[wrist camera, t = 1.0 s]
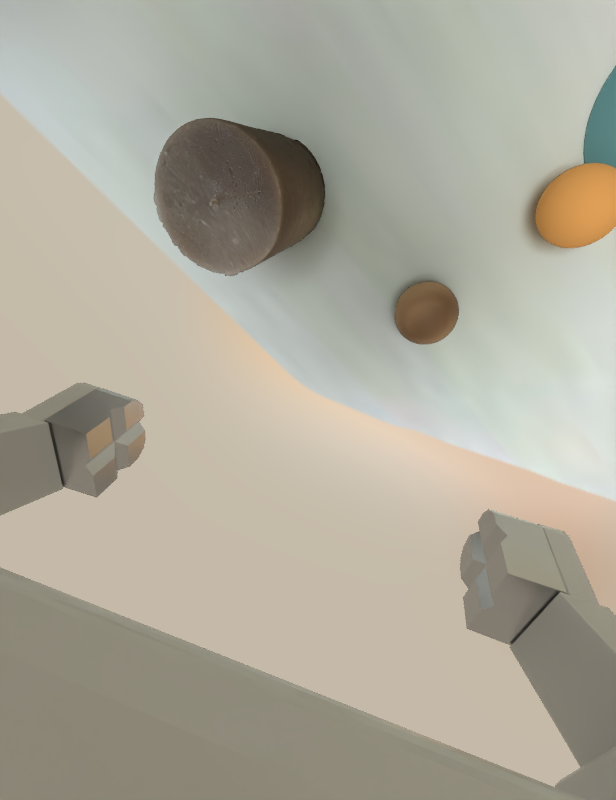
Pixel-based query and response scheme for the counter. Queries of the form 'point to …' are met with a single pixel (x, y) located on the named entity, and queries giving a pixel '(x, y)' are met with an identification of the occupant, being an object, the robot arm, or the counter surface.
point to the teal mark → (602, 126)
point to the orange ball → (578, 206)
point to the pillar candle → (236, 193)
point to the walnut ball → (426, 312)
